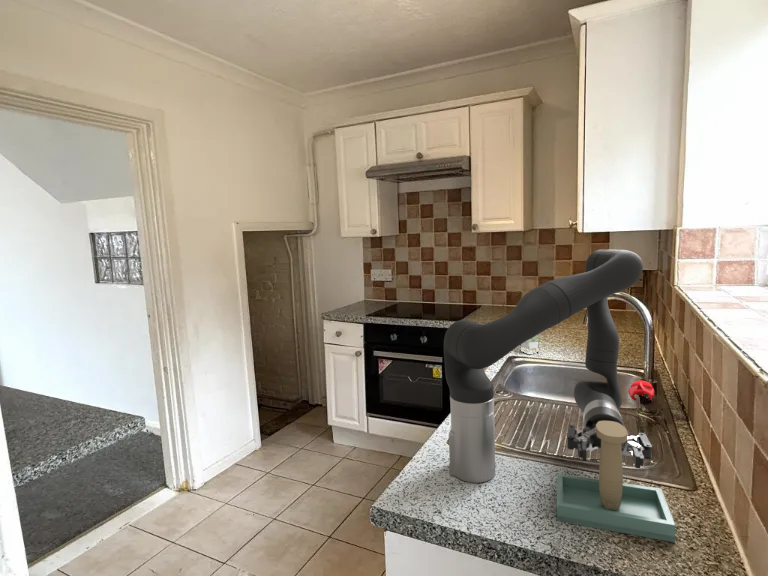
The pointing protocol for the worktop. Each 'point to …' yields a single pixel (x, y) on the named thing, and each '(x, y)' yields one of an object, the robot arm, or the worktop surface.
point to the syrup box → (531, 343)
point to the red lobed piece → (641, 389)
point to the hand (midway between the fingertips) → (610, 459)
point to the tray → (634, 516)
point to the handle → (611, 463)
